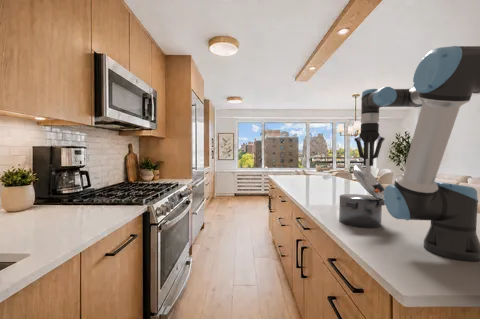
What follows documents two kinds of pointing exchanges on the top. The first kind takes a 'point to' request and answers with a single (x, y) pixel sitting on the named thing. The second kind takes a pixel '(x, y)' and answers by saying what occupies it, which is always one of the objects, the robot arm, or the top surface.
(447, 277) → the top surface
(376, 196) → the cooker lid
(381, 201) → the cooker pot
